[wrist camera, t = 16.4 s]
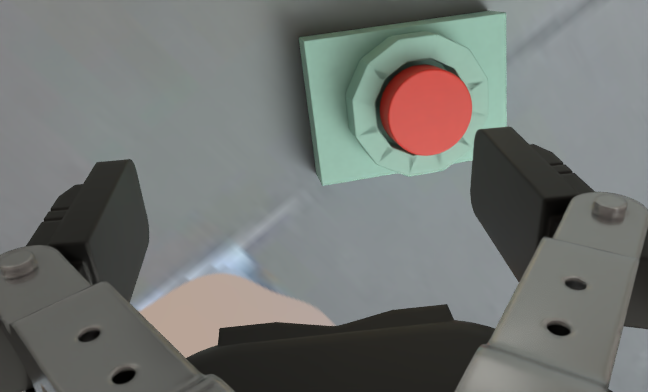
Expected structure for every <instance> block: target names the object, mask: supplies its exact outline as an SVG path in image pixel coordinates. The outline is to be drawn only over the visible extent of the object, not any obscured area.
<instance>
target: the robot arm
mask: <svg viewBox="0 0 648 392" xmlns="http://www.w3.org/2000/svg"><path fill="white" fill-rule="evenodd" d="M470 195H471V203H472V208H473V211H474V213H475V215H476V217H477V218H478V220H479V221H480V223H481V224H482V226H483V227H484V229H485V231H486V232H487V234H488V235H489V237H490V238H491V240H492V241H493V243H494V244H495V246H496V248H497V249H498V251H499V252H500V254H501V255H502V257H503V258H504V260H505V261H506V263H507V265H508V266H509V268H510V269H511V271H512V272H513V274H514V275H515V277H516V279H517V280H518V282H519V284H518V286H517V288H516V290H515V292H514V294H513V296H512V298H511V299H510V301H509V303H508V305H507V307H506V309H505V311H504V313H503V315H502V317H501V319H500V321H499V323H498V325H497V327H496V328H495V329H494V328H491V327H488V326H484V325H480V324H476V323H471V322H465V321H457V320H454V319H453V317H452V314H451V312H450V310H449V308H448V305H447V304H446V305H436V306H427V307H417V308H408V309H398V310H391V311H387V312H384V313H381V314H377V315H374V316H371V317H367V318H364V319H360V320H357V321H354V322H350V323H347V324H343V325H339V326H321V325H320V326H319V325H306V324H293V323H279V322H274V323H265V324H255V325H246V326H236V327H227V328H220V329H219V340H218V345H217V346H214V347H211V348H208V349H206V350H203V351H200V352H198V353H196V354H194V355H191V356H190V357H187V358H185V357H184V356H183V355H182V354H181V353H179V351H178V350H177V349H176V348H175V347H174V346H173V345H172V344H171V343H170V342H169V341H168V340H167V339H166V338H165V337H163V335H161V333H160V332H158V331H157V330H156V329H155V328H154V327H153V326H152V325H151V324H150V323H149V322H148V321H147V320H146V319H145V318H144V317H143V316H142V315H141V314H140V313H139V312H138V311H137V310H136V309H135V308H134V307H133V306H132V305H131V304H130V300H131V297H132V294H133V291H134V287H135V284H136V281H137V278H138V275H139V272H140V269H141V266H142V263H143V259H144V256H145V253H146V250H147V247H148V243H149V225H148V219H147V214H146V210H145V206H144V202H143V197H142V193H141V189H140V185H139V180H138V176H137V172H136V168H135V165H134V163H133V161H132V160H130V159H128V160H117V161H106V162H97V163H96V164H95V166H94V167H93V169H92V171H91V172H90V174H89V176H88V177H87V179H86V181H85V182H84V184H80V185H74V186H73V187H72V188H70V189H69V190H67V191H66V192H65V193H63V194H62V195H60V196H59V197H58V198H57V200H56V202H55V203H54V205H53V206H52V208H51V211H49V212H48V214H47V215H46V217H45V218H44V222H42V223H41V224H40V226H39V227H38V229H37V230H36V232H35V233H34V235H33V236H32V238H31V239H30V241H29V242H28V244H27V245H26V246H25V247H21V248H17V249H13V250H11V251H8V252H5V253H3V254H1V255H0V392H613V391H611V390H609V389H608V387H609V383H610V378H611V374H612V370H613V366H614V362H615V358H616V354H617V350H618V346H619V342H620V338H621V334H622V330H623V326H626V327H635V328H643V329H648V209H647V208H646V207H645V206H644V205H643V204H641V203H640V202H638V201H636V200H634V199H632V198H629V197H626V196H623V195H619V194H615V193H608V192H595V191H594V190H592V189H591V188H590V187H589V186H588V185H587V184H586V183H585V182H584V181H583V180H582V179H580V178H579V177H578V176H577V175H576V174H575V173H572V170H571V169H570V168H568V167H567V166H566V165H563V162H562V161H561V160H560V159H559V158H558V157H557V156H555V155H554V154H553V153H552V152H550V151H548V150H546V149H543V148H541V147H539V146H537V145H534V144H531V145H529V144H528V143H527V142H526V141H525V140H524V139H523V138H522V137H521V136H520V135H519V134H518V133H517V132H516V131H515V130H514V129H513V128H512V127H498V128H487V129H479V130H477V132H476V134H475V138H474V148H473V161H472V175H471V189H470Z"/></svg>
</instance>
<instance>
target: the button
mask: <svg viewBox="0 0 648 392" xmlns="http://www.w3.org/2000/svg"><path fill="white" fill-rule="evenodd" d="M471 116H472V100H471V96H470V93H469V90H468V89H467V87H466V85H465V84H464V82H463V81H462V80H461V79H460V78H459V77H457V76H456V75H455V74H453V73H451V72H449V71H446V70H444V69H441V68H439V67H436V66H433V65H426V64H422V65H415V66H411V67H408V68H406V69H404V70H402V71H401V72H399V73H398V74H397V75H395V76H394V77H393V78H392V79H391V81H390V82H389V83H388V85H387V86H386V88H385V90H384V92H383V94H382V97H381V101H380V119H381V122H382V125H383V127H384V129H385V131H386V132H387V134H388V135H389V136H390V137H391V138H392V139H393V140H394V141H395V142H396V143H397V144H398V145H399V146H401V147H402V148H403V149H405V150H406V151H408V152H410V153H413V154H416V155H421V156H429V155H435V154H439V153H442V152H444V151H446V150H448V149H450V148H451V147H452V146H454V145H455V144H456V143H457V142H458V141H459V140H460V139H461V138H462V136H463V135H464V134H465V132H466V130H467V128H468V126H469V124H470V120H471Z"/></svg>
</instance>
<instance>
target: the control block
mask: <svg viewBox="0 0 648 392" xmlns="http://www.w3.org/2000/svg"><path fill="white" fill-rule="evenodd" d="M299 45H300V52H301V60H302V67H303V75H304V83H305V90H306V98H307V105H308V113H309V121H310V128H311V136H312V143H313V151H314V159H315V166H316V174H317V176H318V178H319V180H320V182H321V184H322V186H325V185H331V184H337V183H342V182H348V181H354V180H360V179H366V178H372V177H378V176H384V175H390V174H396V173H400V174H402V175H405V176H416V175H422V174H427V173H433V172H439V171H443V170H445V169H446V168H448V167H449V166H450V165H452V164H455V163H461V162H467V161H472V160H473V148H474V138H475V134H476V132H477V130H479V129H487V128H498V127H507V115H506V13H505V12H496V11H483V12H476V13H469V14H462V15H455V16H448V17H440V18H433V19H426V20H419V21H412V22H405V23H398V24H391V25H384V26H376V27H369V28H362V29H355V30H348V31H341V32H334V33H327V34H319V35H312V36H305V37H299ZM422 64H426V65H433V66H436V67H439V68H441V69H444V70H446V71H449V72H451V73H453V74H455V75H456V76H457V77H459V78H460V79H461V80H462V81H463V82H464V84H465V85H466V87H467V89H468V90H469V93H470V96H471V100H472V116H471V120H470V124H469V126H468V128H467V130H466V132H465V134H464V135H463V136H462V138H461V139H460V140H459V141H458V142H457V143H456V144H455V145H454V146H452V147H451V148H450V149H448V150H446V151H444V152H442V153H439V154H435V155H429V156H421V155H416V154H413V153H410V152H408V151H406V150H405V149H403V148H402V147H401V146H399V145H398V144H397V143H396V142H395V141H394V140H393V139H392V138H391V137H390V136H389V135H388V134H387V132H386V131H385V129H384V127H383V125H382V122H381V119H380V101H381V97H382V94H383V92H384V90H385V88H386V86H387V85H388V83H389V82H390V81H391V79H392V78H393V77H394V76H395V75H397V74H398V73H399V72H401V71H402V70H404V69H406V68H408V67H411V66H415V65H422Z"/></svg>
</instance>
